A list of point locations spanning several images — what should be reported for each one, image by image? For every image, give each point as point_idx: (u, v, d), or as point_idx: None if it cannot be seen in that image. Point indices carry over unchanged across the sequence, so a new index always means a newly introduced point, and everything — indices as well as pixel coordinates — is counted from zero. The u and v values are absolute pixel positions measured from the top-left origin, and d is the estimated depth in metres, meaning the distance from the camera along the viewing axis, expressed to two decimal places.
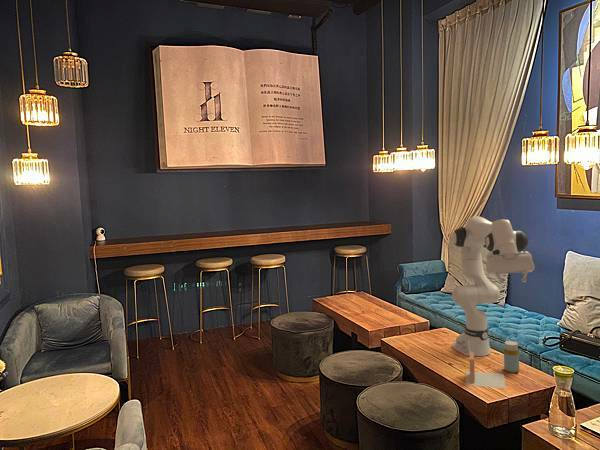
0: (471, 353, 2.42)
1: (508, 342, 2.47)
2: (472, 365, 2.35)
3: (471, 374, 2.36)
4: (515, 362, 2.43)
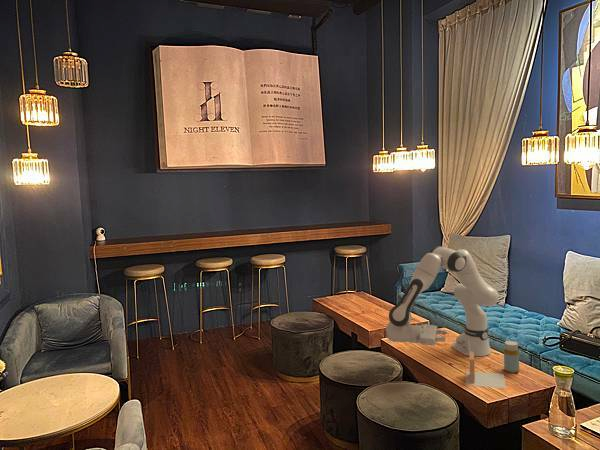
0: (471, 353, 2.42)
1: (508, 342, 2.47)
2: (472, 365, 2.35)
3: (471, 374, 2.36)
4: (515, 362, 2.43)
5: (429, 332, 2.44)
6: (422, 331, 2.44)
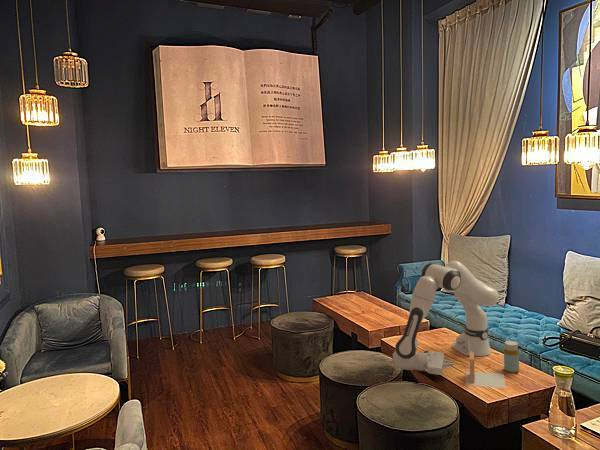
0: (471, 353, 2.42)
1: (508, 342, 2.47)
2: (472, 365, 2.35)
3: (471, 374, 2.36)
4: (515, 362, 2.43)
5: (436, 360, 2.45)
6: (429, 359, 2.45)
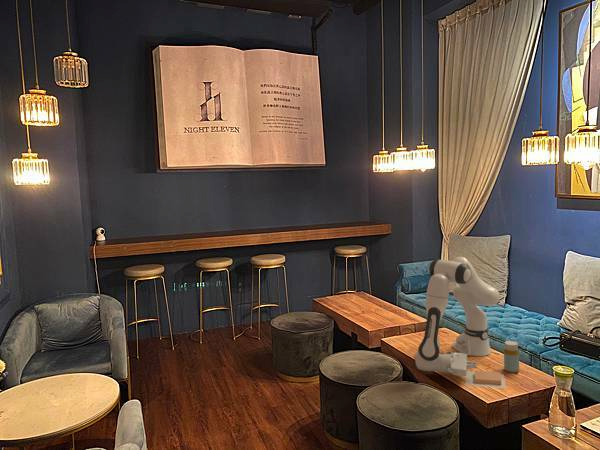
0: None
1: (508, 342, 2.47)
2: (494, 382, 2.33)
3: (484, 380, 2.34)
4: (515, 362, 2.43)
5: (460, 361, 2.41)
6: (452, 360, 2.41)
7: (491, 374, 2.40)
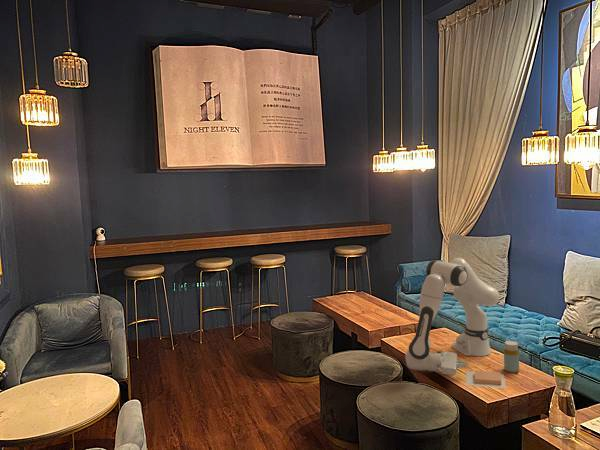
0: None
1: (508, 342, 2.47)
2: (494, 382, 2.33)
3: (484, 380, 2.34)
4: (515, 362, 2.43)
5: (450, 361, 2.42)
6: (442, 360, 2.42)
7: (491, 374, 2.40)
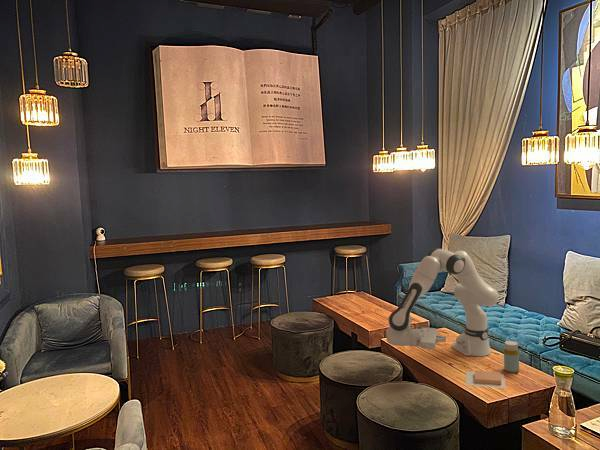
0: None
1: (508, 342, 2.47)
2: (494, 382, 2.33)
3: (484, 380, 2.34)
4: (515, 362, 2.43)
5: (429, 336, 2.44)
6: (422, 335, 2.45)
7: (491, 374, 2.40)
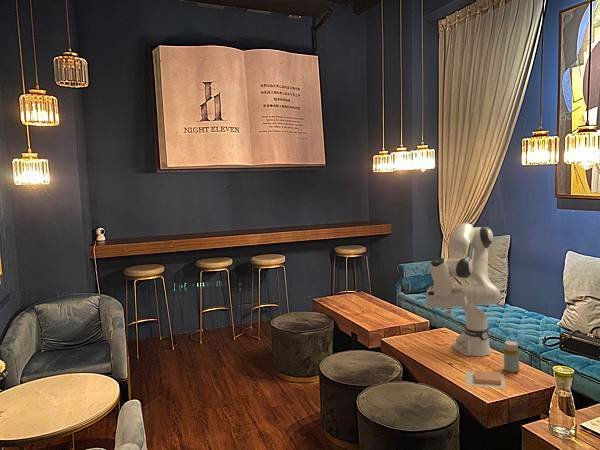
0: None
1: (508, 342, 2.47)
2: (494, 382, 2.33)
3: (484, 380, 2.34)
4: (515, 362, 2.43)
5: None
6: None
7: (491, 374, 2.40)
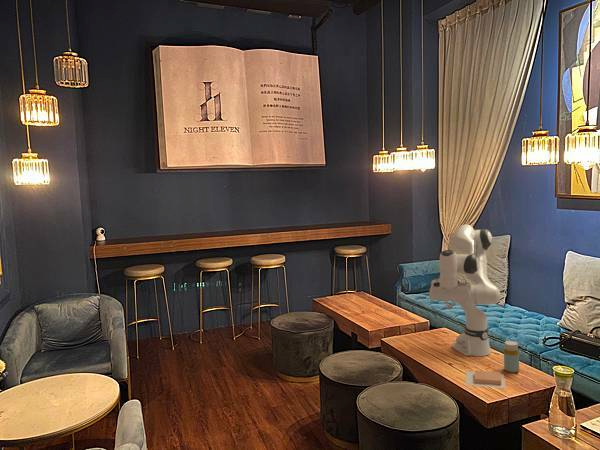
0: None
1: (508, 342, 2.47)
2: (494, 382, 2.33)
3: (484, 380, 2.34)
4: (515, 362, 2.43)
5: None
6: None
7: (491, 374, 2.40)
